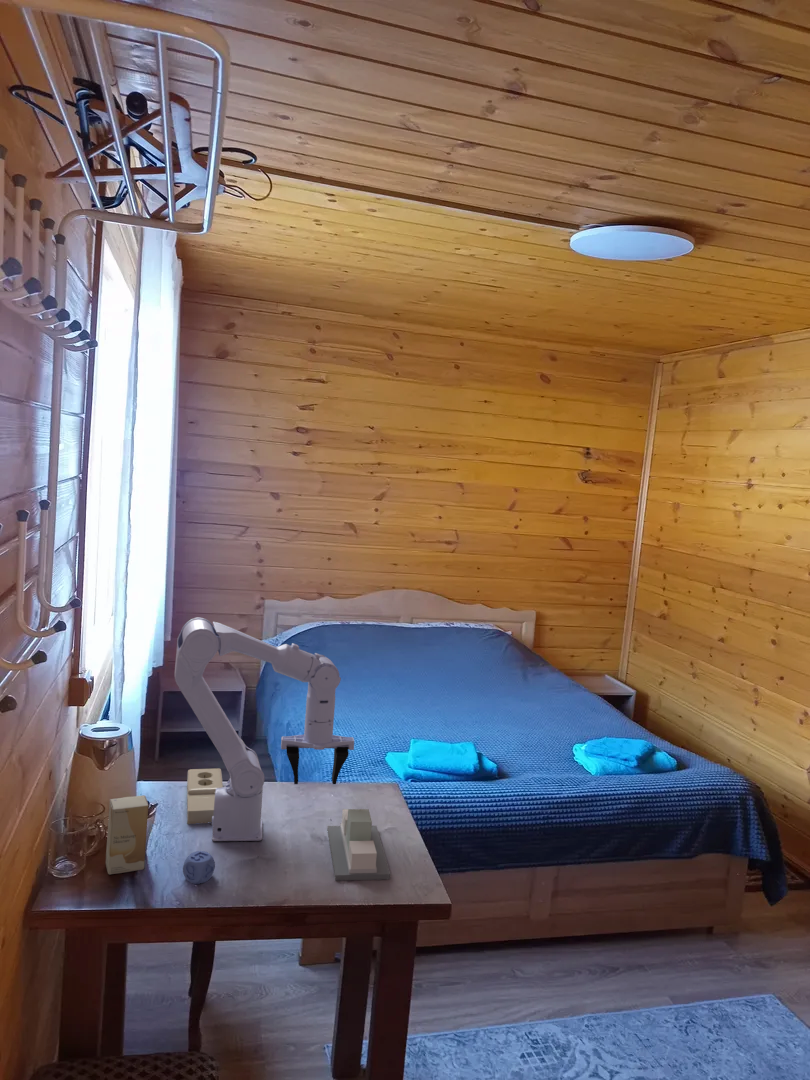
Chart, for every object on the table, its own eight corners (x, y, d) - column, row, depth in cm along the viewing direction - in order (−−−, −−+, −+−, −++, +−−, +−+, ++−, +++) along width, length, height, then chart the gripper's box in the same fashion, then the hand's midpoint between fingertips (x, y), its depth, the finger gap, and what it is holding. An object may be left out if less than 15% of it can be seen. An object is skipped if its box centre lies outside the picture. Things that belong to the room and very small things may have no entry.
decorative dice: (214, 875, 139) (215, 854, 139) (200, 886, 136) (201, 865, 135) (196, 869, 141) (197, 848, 141) (181, 880, 137) (183, 858, 137)
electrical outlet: (188, 806, 156) (187, 768, 173) (187, 826, 157) (187, 786, 174) (225, 805, 158) (221, 767, 175) (224, 824, 159) (220, 784, 176)
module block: (348, 851, 148) (350, 821, 147) (345, 838, 153) (348, 809, 152) (369, 851, 148) (371, 821, 148) (366, 838, 153) (368, 809, 152)
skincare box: (108, 876, 137) (110, 809, 135) (105, 863, 140) (107, 798, 139) (146, 869, 140) (149, 804, 138) (142, 857, 143) (145, 793, 142)
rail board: (335, 880, 141) (337, 855, 140) (327, 830, 159) (329, 808, 158) (389, 879, 143) (392, 854, 142) (376, 830, 160) (377, 807, 160)
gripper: (283, 724, 152) (279, 791, 154) (357, 725, 155) (352, 790, 156) (282, 711, 159) (278, 775, 160) (353, 712, 161) (348, 775, 163)
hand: (314, 782), depth 159 cm, fingers open, 7 cm apart
